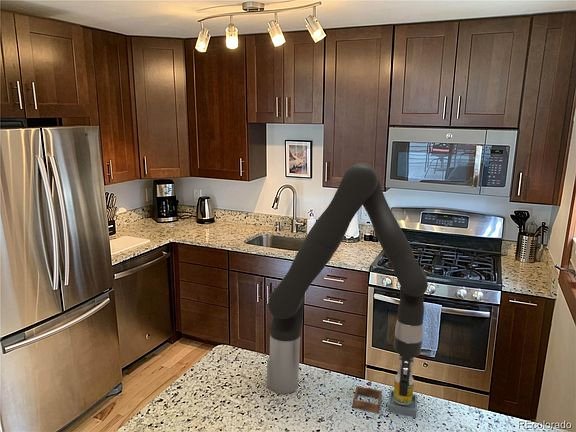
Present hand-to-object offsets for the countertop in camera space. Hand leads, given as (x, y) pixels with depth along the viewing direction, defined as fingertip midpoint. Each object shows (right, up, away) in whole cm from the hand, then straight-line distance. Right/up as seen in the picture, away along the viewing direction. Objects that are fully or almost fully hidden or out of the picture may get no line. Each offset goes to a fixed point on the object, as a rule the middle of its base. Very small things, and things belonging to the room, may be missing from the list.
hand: (403, 389), depth 127 cm
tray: (0, -6, +1) cm, 6 cm away
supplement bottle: (0, -4, +1) cm, 4 cm away
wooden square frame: (-10, -5, +2) cm, 11 cm away
